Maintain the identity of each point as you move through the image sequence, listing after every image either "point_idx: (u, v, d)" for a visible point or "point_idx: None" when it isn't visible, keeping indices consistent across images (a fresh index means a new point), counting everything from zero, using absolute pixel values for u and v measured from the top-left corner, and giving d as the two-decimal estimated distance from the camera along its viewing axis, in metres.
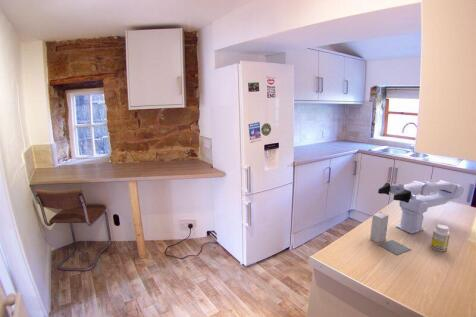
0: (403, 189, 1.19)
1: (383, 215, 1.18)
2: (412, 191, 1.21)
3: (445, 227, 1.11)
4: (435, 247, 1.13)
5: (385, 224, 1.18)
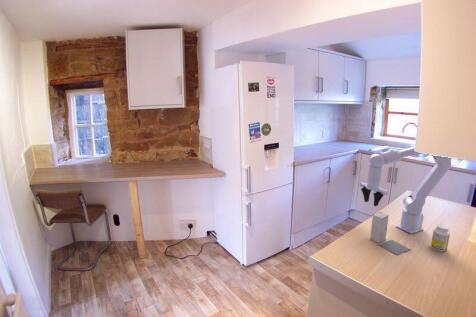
0: None
1: (383, 215, 1.18)
2: (378, 180, 1.29)
3: (445, 227, 1.11)
4: (435, 247, 1.13)
5: (385, 224, 1.18)
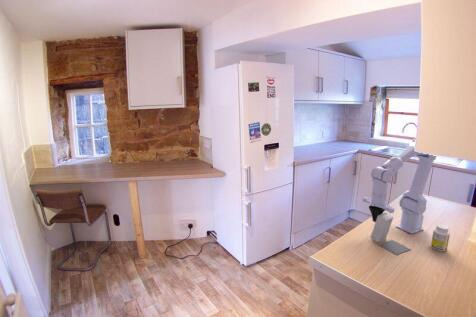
0: None
1: (388, 217, 1.16)
2: (383, 196, 1.16)
3: (445, 227, 1.11)
4: (435, 247, 1.13)
5: (388, 225, 1.17)
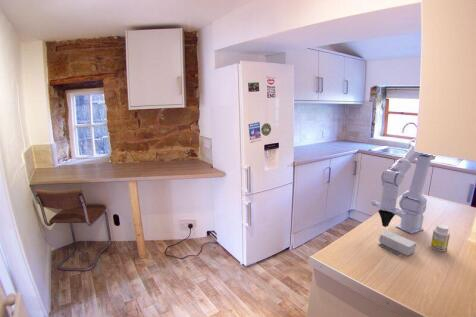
0: None
1: (412, 251, 1.10)
2: (394, 200, 1.11)
3: (445, 227, 1.11)
4: (435, 247, 1.13)
5: None
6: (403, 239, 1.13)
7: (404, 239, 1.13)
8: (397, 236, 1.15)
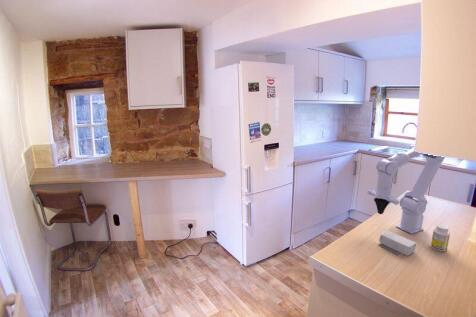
0: None
1: (412, 251, 1.10)
2: (388, 188, 1.18)
3: (445, 227, 1.11)
4: (435, 247, 1.13)
5: None
6: (403, 239, 1.13)
7: (404, 239, 1.13)
8: (397, 236, 1.15)
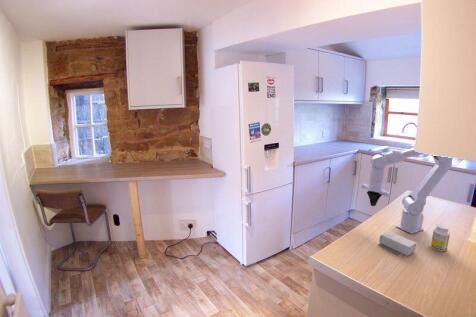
0: None
1: (412, 251, 1.10)
2: (380, 182, 1.27)
3: (445, 227, 1.11)
4: (435, 247, 1.13)
5: None
6: (403, 239, 1.13)
7: (404, 239, 1.13)
8: (397, 236, 1.15)
